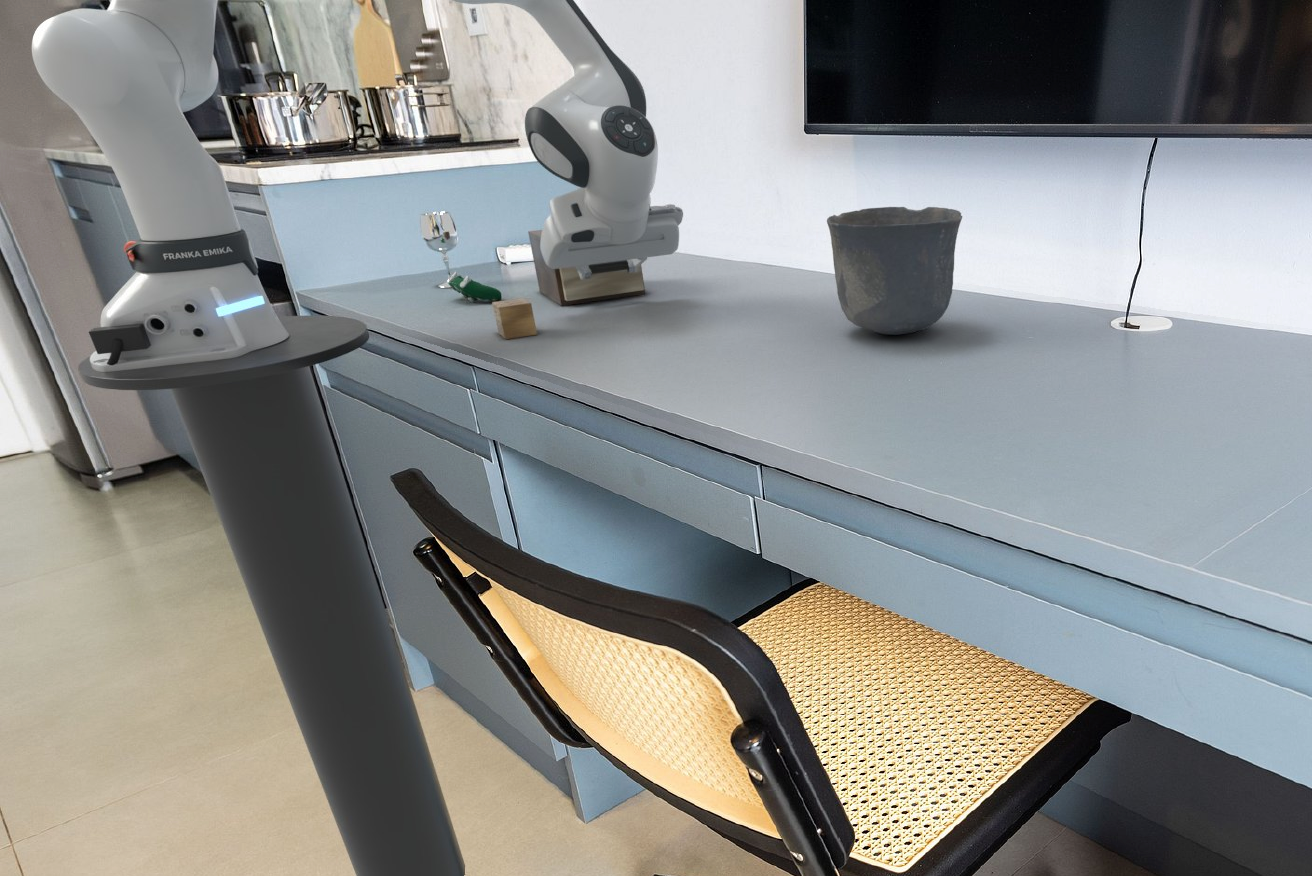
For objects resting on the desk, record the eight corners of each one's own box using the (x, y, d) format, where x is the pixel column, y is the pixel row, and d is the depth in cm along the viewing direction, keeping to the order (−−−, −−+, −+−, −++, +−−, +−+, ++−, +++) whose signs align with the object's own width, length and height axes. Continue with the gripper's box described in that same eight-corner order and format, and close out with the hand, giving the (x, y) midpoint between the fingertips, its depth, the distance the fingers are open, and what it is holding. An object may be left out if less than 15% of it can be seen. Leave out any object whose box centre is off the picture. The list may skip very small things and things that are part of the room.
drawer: (653, 294, 158) (645, 241, 154) (574, 305, 152) (564, 251, 149) (620, 278, 171) (613, 230, 167) (546, 288, 165) (537, 238, 162)
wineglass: (462, 280, 181) (446, 210, 175) (473, 284, 177) (457, 212, 171) (429, 285, 177) (412, 213, 172) (440, 289, 173) (423, 216, 168)
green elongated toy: (473, 306, 169) (441, 284, 164) (484, 287, 169) (453, 265, 165) (493, 314, 162) (460, 292, 158) (505, 294, 163) (473, 271, 158)
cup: (993, 331, 132) (995, 210, 125) (898, 358, 122) (894, 229, 115) (900, 312, 144) (897, 201, 137) (805, 336, 133) (797, 217, 126)
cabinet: (645, 293, 163) (636, 230, 159) (561, 305, 157) (549, 240, 153) (619, 281, 174) (610, 222, 169) (539, 292, 168) (527, 231, 163)
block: (505, 339, 139) (498, 307, 137) (498, 333, 142) (491, 302, 140) (537, 334, 141) (531, 302, 138) (530, 328, 144) (523, 297, 142)
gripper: (677, 186, 148) (664, 247, 160) (538, 200, 139) (535, 263, 151) (692, 221, 146) (678, 280, 158) (552, 237, 137) (548, 298, 149)
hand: (607, 272), depth 154 cm, fingers closed on drawer, 6 cm apart
